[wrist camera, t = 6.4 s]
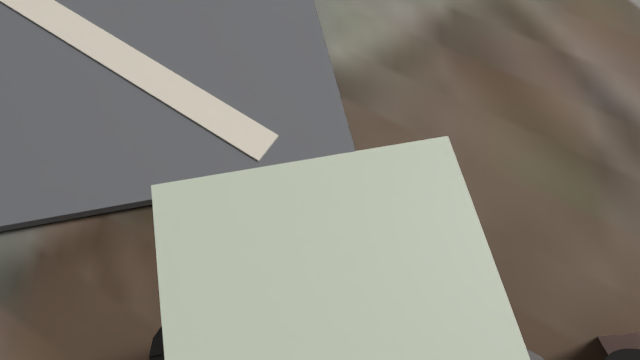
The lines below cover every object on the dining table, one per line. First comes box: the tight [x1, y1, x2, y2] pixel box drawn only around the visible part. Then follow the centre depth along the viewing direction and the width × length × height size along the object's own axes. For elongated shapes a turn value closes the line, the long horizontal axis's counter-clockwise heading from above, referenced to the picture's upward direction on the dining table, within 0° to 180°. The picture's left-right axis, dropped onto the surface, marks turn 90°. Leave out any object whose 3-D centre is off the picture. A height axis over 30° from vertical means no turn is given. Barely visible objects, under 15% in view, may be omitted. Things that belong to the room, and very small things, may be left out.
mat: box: [0, 0, 355, 232], centre depth 22 cm, size 20×15×1 cm
